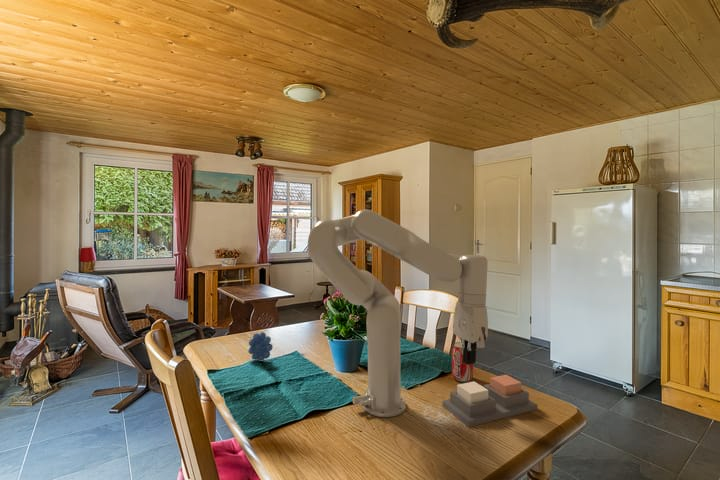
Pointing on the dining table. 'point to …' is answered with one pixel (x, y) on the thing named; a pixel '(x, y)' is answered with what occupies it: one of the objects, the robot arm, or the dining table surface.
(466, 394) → the off white key
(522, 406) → the grey key base
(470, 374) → the soda can
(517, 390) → the terracotta key
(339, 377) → the dining table surface
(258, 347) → the grapes
